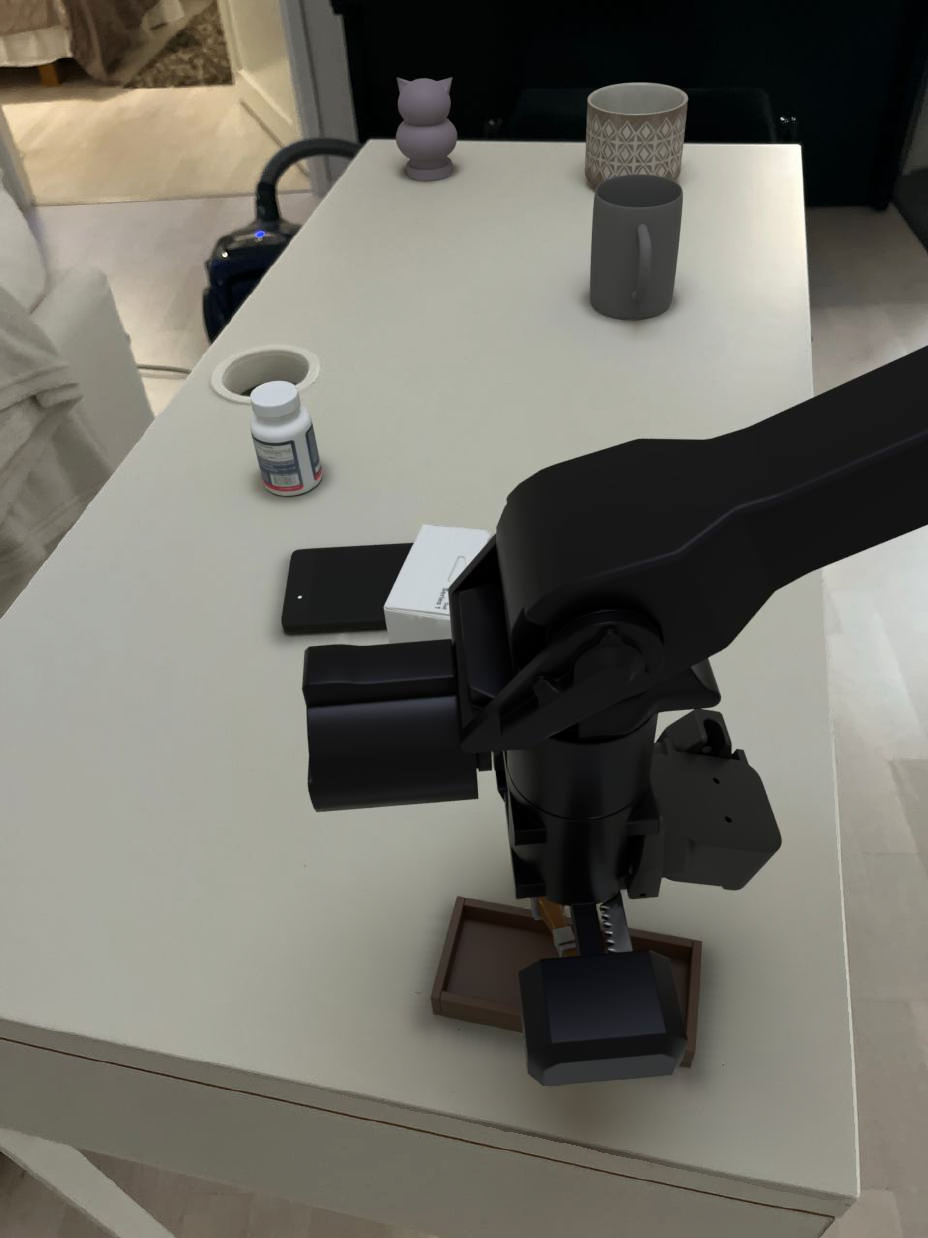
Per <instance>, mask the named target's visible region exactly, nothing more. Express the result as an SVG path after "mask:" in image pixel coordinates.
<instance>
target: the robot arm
mask: <svg viewBox="0 0 928 1238" xmlns="http://www.w3.org/2000/svg"><path fill="white" fill-rule="evenodd" d="M505 500H506V501H505V502H506V504H505V505H504V507H503V509H502V511H501V514H500V517H499V519H498V521H497V524H496V527H495V533H494V534H493V537H492V538H491V539H490V540H489V541H488V543H487V544H486V545H485V546H484V547H483V548H482V550H481V551H480V552H479V553H478V554H477V555H476V557H475V558H474V559H473V560H472V561H471V562H470V563H469V565H468V566H467V567H466V568H465V569H464V570H463V572H462V573H461V574H460V575H459V576H458V577H457V578H456V580H455V581H454V582H453V583H452V584H451V585H450V587H449V588H448V599H449V611H450V623H451V635H452V639H441V640H428V641H416V642H404V643H392V644H389V643H381V644H369V645H356V644H347V643H345V644H344V643H333V644H321V645H309V646H308V647H307V648H305V649H304V652H303V665H302V666H303V667H302V681H301V692H302V695H303V699H304V703H305V710H306V711H305V713H306V714H305V715H306V735H307V750H308V762H307V763H308V764H307V766H308V767H307V790H308V794H309V799H310V803H311V805H312V808H313V809H314V811H315V812H316V813H326V812H327V813H328V812H339V811H340V812H341V811H348V810H362V809H373V808H374V809H375V808H388V807H401V806H411V805H423V804H437V803H447V802H459V801H473V800H479V782H478V772H490V771H494V772H495V782H496V783H495V784H496V791H497V793H498V795H499V796H500V798H501V799H502V802H503V803H504V811H505V821H506V828H507V837H508V845H509V854H510V862H511V863H510V864H511V872H512V879H513V888H514V895H515V897H514V898H515V900H524V899H530V898H536V897H545V898H546V900H548V901H549V902H552V903H555V904H559V905H563V906H564V907H569V911H570V917H571V919H572V925H573V931H574V938H575V944H576V950H577V956H570V957H559V958H547V959H540V960H538V961H536V962H534V963H533V964H531V965H529V966H527V967H526V968H524V969H522V970H520V971H518V985H519V997H520V1009H521V1018H522V1027H523V1032H522V1034H523V1035H522V1036H523V1044H524V1053H525V1054H524V1055H525V1062H526V1071H527V1075H529V1076H530V1077H531V1078H532V1079H534V1081H536V1082H537V1083H538V1084H539V1085H540V1086H542V1087H545V1088H547V1087H556V1086H567V1085H578V1084H579V1085H580V1084H591V1083H603V1082H613V1081H621V1080H622V1081H623V1080H634V1079H645V1078H656V1077H669V1076H673V1075H674V1073H675V1072H676V1070H677V1069H678V1068H679V1066H680V1063H681V1062H682V1060H683V1058H684V1054H685V1050H686V1046H687V1043H688V1038H687V1033H686V1029H685V1025H684V1020H683V1016H682V1012H681V1007H680V1003H679V999H678V994H677V990H676V986H675V981H674V977H673V973H672V968H671V964H670V960H669V958H667V957H665V956H663V955H660V954H658V953H656V952H653V951H651V950H638V951H633V949H632V944H631V939H630V934H629V929H628V927H629V925H628V920H627V915H626V910H625V906H624V900H623V895H622V891H626V894H627V898H628V899H629V900H643V899H654V898H659V896H660V890H661V884H662V879H667V880H669V881H672V882H676V883H684V884H693V885H703V886H704V885H705V886H712V887H720V888H722V889H723V890H725V891H739V890H742V889H744V888H745V887H746V886H747V885H748V884H749V883H750V882H751V880H752V879H753V878H754V877H755V876H756V875H757V874H758V873H759V872H760V871H761V869H763V867H764V866H765V865H766V864H767V863H768V862H769V861H770V860H771V859H772V858H773V856H775V854H776V853H777V852H779V850H780V848H781V847H782V844H783V838H782V834H781V830H780V828H779V825H778V822H777V819H776V816H775V814H774V811H773V808H772V805H771V801H770V799H769V797H768V794H767V790H766V788H765V785H764V783H763V780H762V778H761V776H760V774H759V772H758V771H757V770H756V769H755V768H754V767H753V766H752V765H750V763H749V760H748V758H747V755H746V752H745V750H744V749H741V748H736V749H735V750H734V751H733V741H732V739H731V736H730V734H729V730H728V727H727V723H726V721H725V717H724V715H723V713H722V712H721V711H717V710H712V709H711V708H715V707H716V706H718V705H719V704H720V703H721V701H722V693H721V691H720V688H719V686H718V685H719V684H718V682H717V678H716V675H715V673H714V670H713V667H712V664H711V662H710V658H711V657H713V656H714V655H716V654H718V653H720V652H723V651H724V650H726V649H727V648H728V647H730V645H731V644H732V643H733V642H734V641H735V640H736V639H737V637H738V636H739V635H740V634H741V632H742V631H743V630H744V629H745V628H746V627H747V625H748V624H749V623H750V622H751V620H753V618H754V617H755V616H756V615H757V614H758V612H759V611H760V610H761V609H762V608H763V606H764V605H765V604H766V603H767V602H768V601H769V599H770V598H771V597H772V596H773V595H774V594H775V593H776V592H777V591H779V590H780V589H783V588H785V587H786V586H788V585H789V584H792V583H793V582H796V581H797V580H799V579H801V578H802V577H804V576H806V575H808V574H810V573H812V572H815V571H817V570H820V569H822V568H825V567H827V566H829V565H832V564H835V563H837V562H840V561H842V560H844V559H847V558H850V557H853V556H854V555H857V554H859V553H863V552H865V551H867V550H870V549H871V548H874V547H877V546H879V545H882V544H884V543H887V542H889V541H892V540H895V539H896V538H899V537H901V536H904V535H906V534H909V533H911V532H912V533H913V532H914V531H917V530H919V529H921V528H924V527H926V526H928V344H927V345H924V346H923V347H920V348H919V349H916V350H914V351H912V352H909V353H907V354H905V355H903V356H901V357H898V358H896V359H894V360H892V361H890V362H888V363H885V364H883V365H880V366H879V367H877V368H874V369H871V370H870V371H868V372H865V373H864V374H861V375H859V376H857V377H854V378H853V379H850V380H848V381H845V382H844V383H841V384H839V385H837V386H835V387H833V388H830V389H828V390H826V391H823V392H822V393H819V394H817V395H815V396H813V397H811V398H808V399H806V400H804V401H802V402H800V403H798V404H795V405H793V406H791V407H788V408H786V409H784V410H782V411H780V412H778V413H775V414H773V415H771V416H769V417H767V418H765V419H762V420H760V421H758V422H756V423H753V424H751V425H750V426H746V427H744V428H740V429H737V430H734V431H731V432H727V433H724V434H721V435H717V436H715V437H711V438H704V439H699V438H698V439H697V438H646V437H645V438H635V439H632V440H628V441H625V442H621V443H619V444H615V445H612V446H610V447H606V448H603V449H599V450H597V451H596V450H595V451H593V452H590V453H586V454H583V455H579V456H577V457H573V458H570V459H567V460H564V461H560V462H557V463H554V464H552V465H549V466H546V467H544V468H541V469H540V470H538V471H536V472H535V473H533V474H532V475H530V476H529V477H526V478H525V479H523V480H522V481H521V482H519V483H518V484H517V485H516V486H515V487H513V489H512V490H511V491H510V492H509V493H508V495H507V496H506V499H505ZM687 710H689V712H687V713H686V714H685V715H682V716H681V717H680V718H678V719H677V720H675V721H673V722H672V723H670V724H669V725H667V726H666V727H665V728H664V729H663V731H662V732H661V733H660V735H658V738H657V739H656V733H657V727H658V721H659V720H658V719H659V714H660V713H667V712H680V711H687ZM599 904H600V905H599ZM597 905H599V911H600V912H601V913H600V914H601V915H600V917H599V912H598V906H597ZM600 918H601V920H603V921H602V923H603V927H604V928H608V929H606V930H605V932H604V935H605V936H607V937H609V938H607V939H606V945H610V947H608V953H605V950H604V944H603V939H602V933H601V928H600V922H601V921H600Z"/></svg>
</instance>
